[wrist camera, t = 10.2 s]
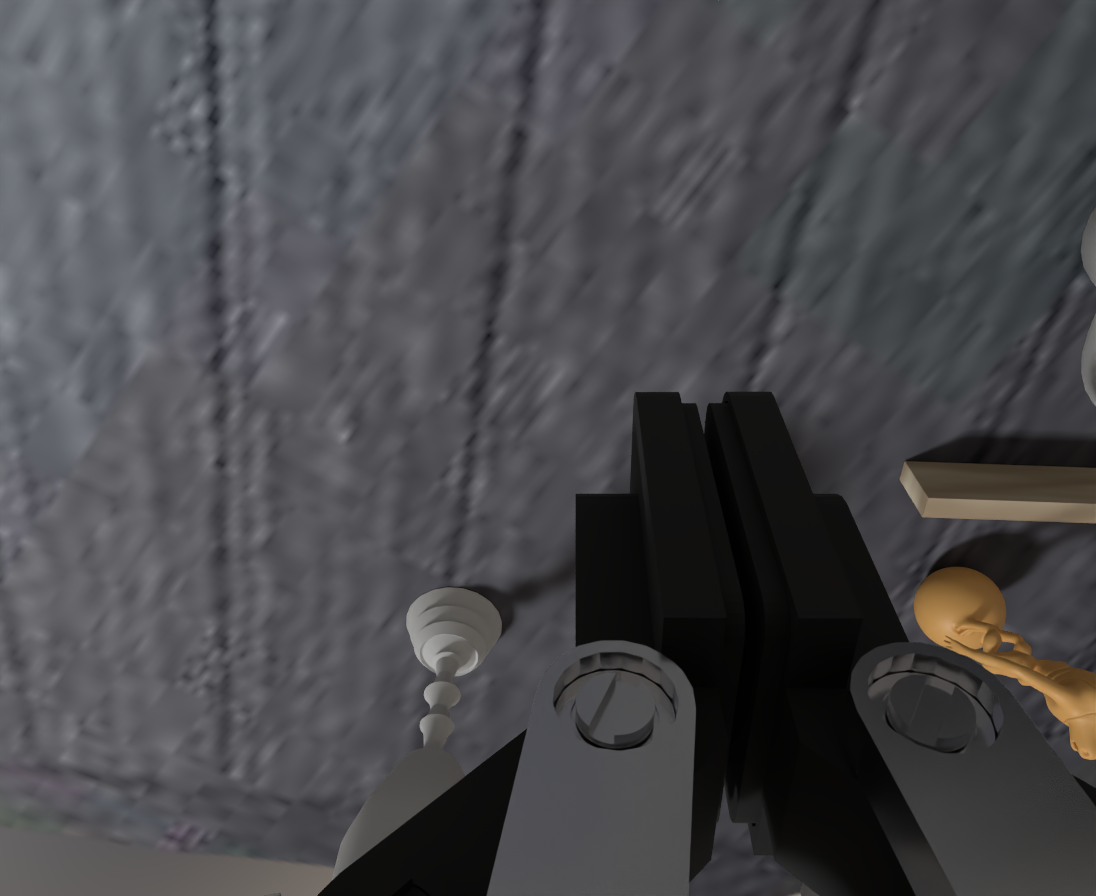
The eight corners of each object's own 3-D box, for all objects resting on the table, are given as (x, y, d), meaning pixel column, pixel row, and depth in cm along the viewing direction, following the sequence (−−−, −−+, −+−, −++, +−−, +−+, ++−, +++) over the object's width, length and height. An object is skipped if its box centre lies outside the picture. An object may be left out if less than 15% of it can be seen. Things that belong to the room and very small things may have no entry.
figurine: (850, 582, 43) (939, 786, 32) (923, 491, 40) (1046, 684, 30) (986, 634, 44) (1112, 844, 34) (1065, 550, 41) (1229, 752, 31)
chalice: (429, 550, 42) (348, 901, 27) (545, 606, 44) (532, 967, 29) (365, 641, 46) (261, 1001, 30) (476, 691, 47) (430, 1056, 32)
